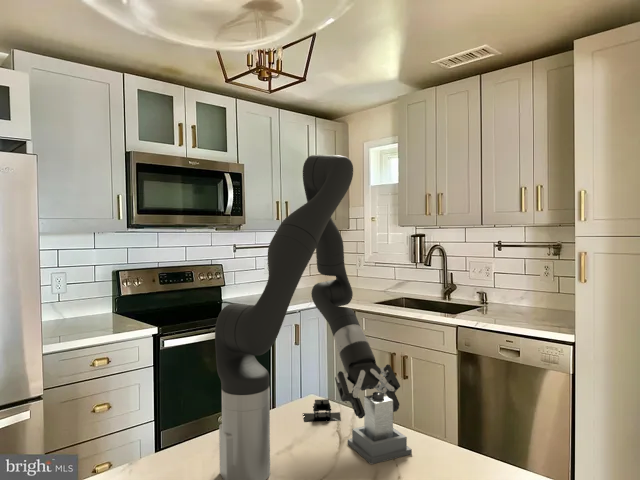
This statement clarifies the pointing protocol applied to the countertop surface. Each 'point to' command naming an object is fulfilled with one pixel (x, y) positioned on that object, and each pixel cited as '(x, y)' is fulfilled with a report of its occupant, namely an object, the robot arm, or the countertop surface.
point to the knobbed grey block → (378, 417)
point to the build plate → (322, 416)
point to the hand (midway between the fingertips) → (379, 413)
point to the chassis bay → (379, 446)
